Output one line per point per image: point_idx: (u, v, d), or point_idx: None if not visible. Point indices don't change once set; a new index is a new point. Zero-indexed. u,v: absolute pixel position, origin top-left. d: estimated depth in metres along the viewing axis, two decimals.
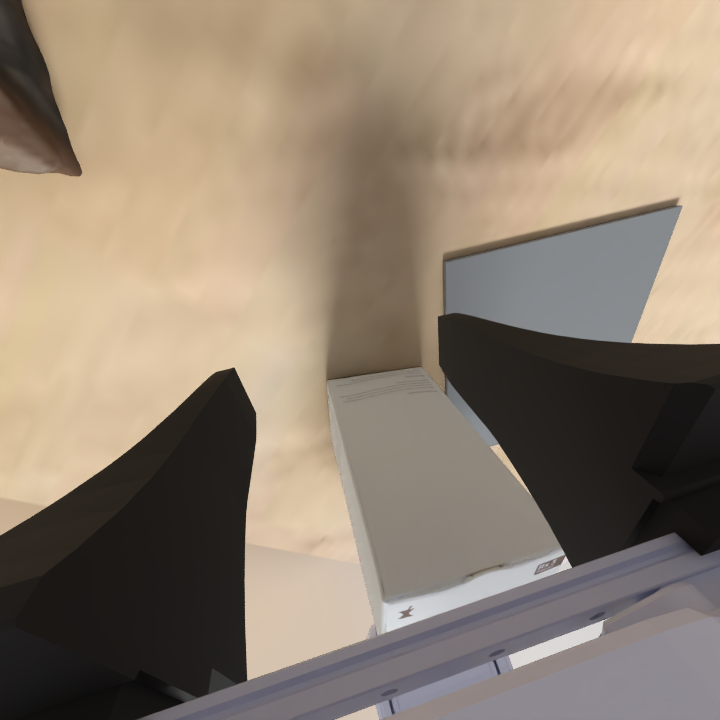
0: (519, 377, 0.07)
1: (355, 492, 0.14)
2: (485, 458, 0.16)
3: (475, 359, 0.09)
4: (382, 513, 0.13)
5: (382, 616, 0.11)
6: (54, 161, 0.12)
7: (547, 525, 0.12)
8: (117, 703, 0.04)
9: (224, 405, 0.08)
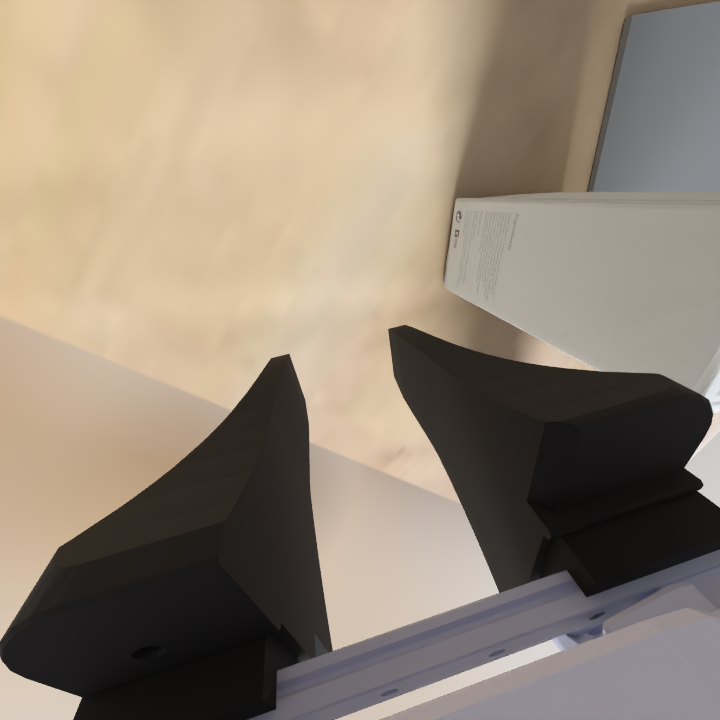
0: (446, 397, 0.07)
1: (604, 205, 0.10)
2: None
3: (416, 375, 0.08)
4: None
5: None
6: None
7: None
8: (265, 653, 0.04)
9: (288, 388, 0.08)
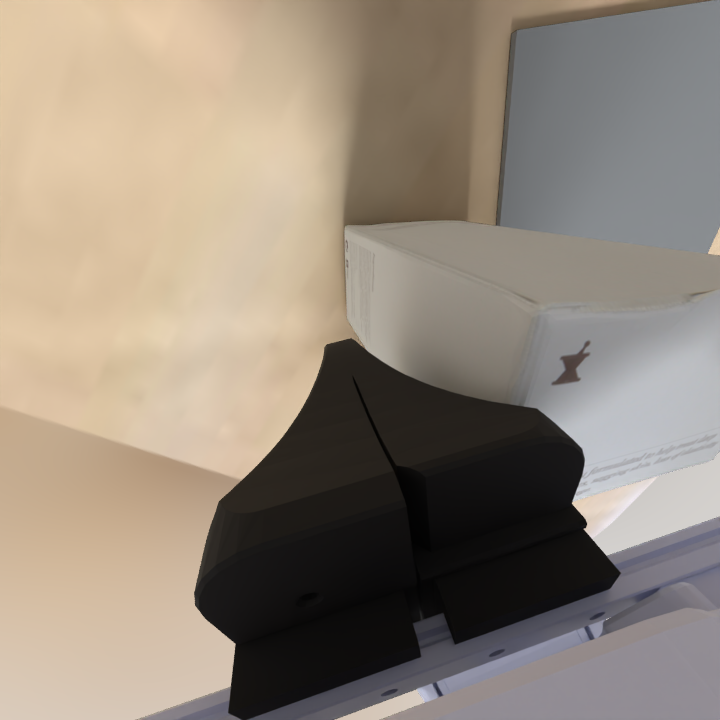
0: None
1: (417, 260, 0.08)
2: (611, 241, 0.10)
3: None
4: (476, 262, 0.07)
5: (518, 379, 0.05)
6: None
7: None
8: (405, 604, 0.04)
9: None
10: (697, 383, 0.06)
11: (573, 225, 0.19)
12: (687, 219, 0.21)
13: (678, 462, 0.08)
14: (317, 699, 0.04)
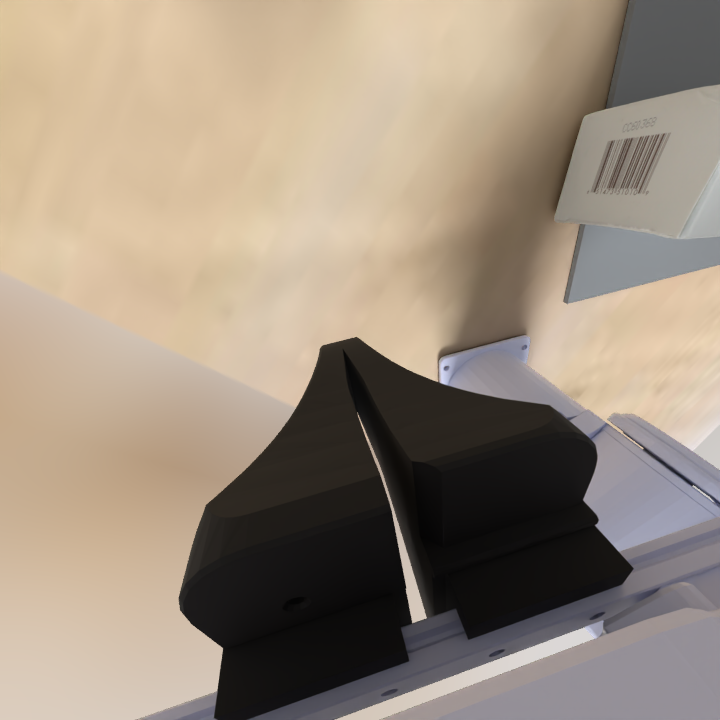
0: (374, 417, 0.07)
1: None
2: None
3: (358, 390, 0.08)
4: None
5: None
6: None
7: None
8: (394, 609, 0.04)
9: (347, 373, 0.08)
10: None
11: None
12: None
13: None
14: (304, 704, 0.04)
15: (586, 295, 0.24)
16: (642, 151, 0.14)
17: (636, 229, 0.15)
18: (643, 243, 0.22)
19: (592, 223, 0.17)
